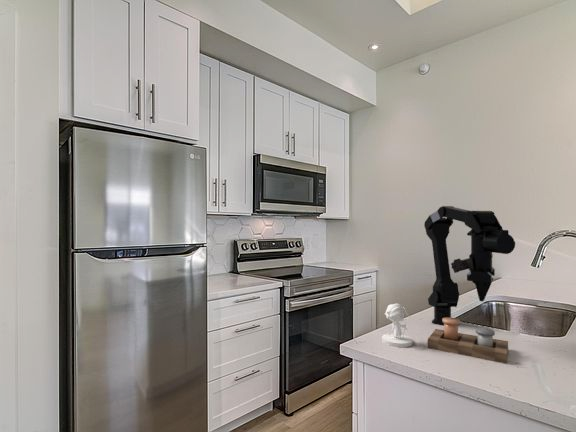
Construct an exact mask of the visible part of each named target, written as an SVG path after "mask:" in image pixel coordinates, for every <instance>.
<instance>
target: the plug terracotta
mask: <svg viewBox="0 0 576 432" xmlns="http://www.w3.org/2000/svg"><path fill="white" fill-rule="evenodd" d="M442 322H443V323H444V325H443V330H444V339H447V340H453V341H457V340H458V333H459V325H460V324H461V321H460V319H458V318H455V317H451V318H449V317H446V318H442Z"/></svg>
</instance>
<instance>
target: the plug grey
mask: <svg viewBox="0 0 576 432" xmlns="http://www.w3.org/2000/svg"><path fill="white" fill-rule="evenodd" d="M495 333H496V331H495V330H493V329H490V328H487V327H476V328H475V334H477V336H478V345H480V346H485V347H491V348H493V339H494V337H493V336H495V335H496V334H495Z"/></svg>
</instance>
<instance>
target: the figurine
mask: <svg viewBox="0 0 576 432" xmlns="http://www.w3.org/2000/svg"><path fill="white" fill-rule="evenodd" d="M405 314H406V316H408V317H410V315H409V314H408V312H407V310H406V308H405V307H404V306H403V307H402V305H401V304H400V303H394V304H393V303H391V304H388V306H387V307H386V310H385V313H384V315H385V316H386V319H388V320H390V321H391V322H392V323H391V330H390V331H389V332H388V333H385V334H383V335H382V336H381V341H382V343H383V344H384V345H388V346H390V347H395V348H396V347H397V348H407V347H409V348H410V347H411V346H413V344H414V343H413V338H412V337H410V336H408V335H405V331H406V330H408V328H407V323H406V322H405V324H401V323H400V322H404V320H405V318H404V317H405ZM402 329H404V330H403V332H402ZM392 332H393V333H392Z"/></svg>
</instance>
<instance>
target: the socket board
mask: <svg viewBox="0 0 576 432" xmlns="http://www.w3.org/2000/svg"><path fill="white" fill-rule="evenodd" d="M427 349H431V350H437V351H440V352H441V351H442V352H445V353H446V352H447V353H452V354H456V355H461V356H466V357H471V358H474V359H475V358H476V359H479V360H480V359H482V360H487V361H491V362H495V363H501V364H505V365H507V364H508V357H509V356H508V355H509V340H504V339H497V338H493V348H491V347H485V346H480V345H478V335H473V334H468V333H462V332H458V340H457V341H453V340H447V339H444V329H439V328H435V329H434V330H433V332H432V333H431V334H430V335H429V337H428V338H427Z"/></svg>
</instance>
